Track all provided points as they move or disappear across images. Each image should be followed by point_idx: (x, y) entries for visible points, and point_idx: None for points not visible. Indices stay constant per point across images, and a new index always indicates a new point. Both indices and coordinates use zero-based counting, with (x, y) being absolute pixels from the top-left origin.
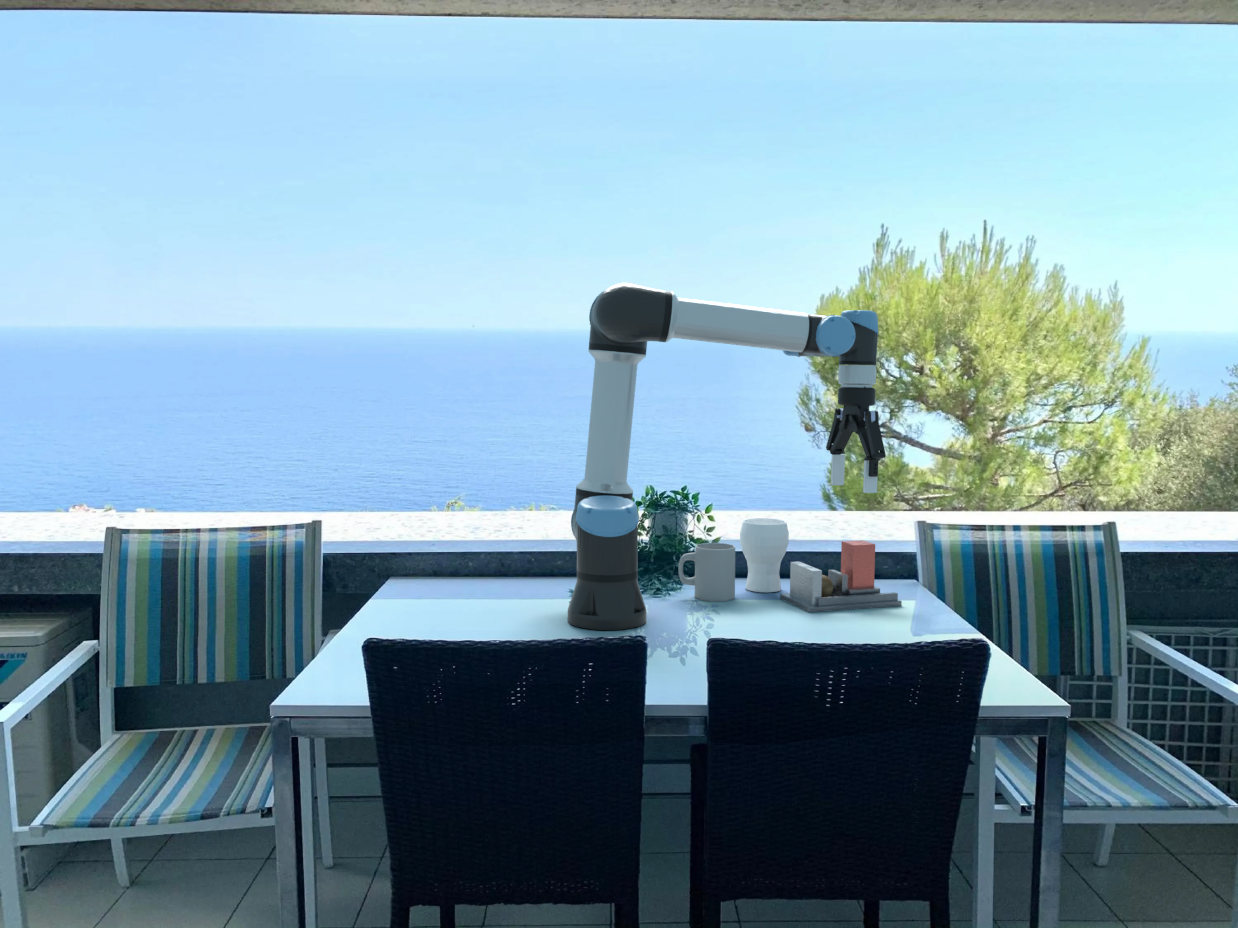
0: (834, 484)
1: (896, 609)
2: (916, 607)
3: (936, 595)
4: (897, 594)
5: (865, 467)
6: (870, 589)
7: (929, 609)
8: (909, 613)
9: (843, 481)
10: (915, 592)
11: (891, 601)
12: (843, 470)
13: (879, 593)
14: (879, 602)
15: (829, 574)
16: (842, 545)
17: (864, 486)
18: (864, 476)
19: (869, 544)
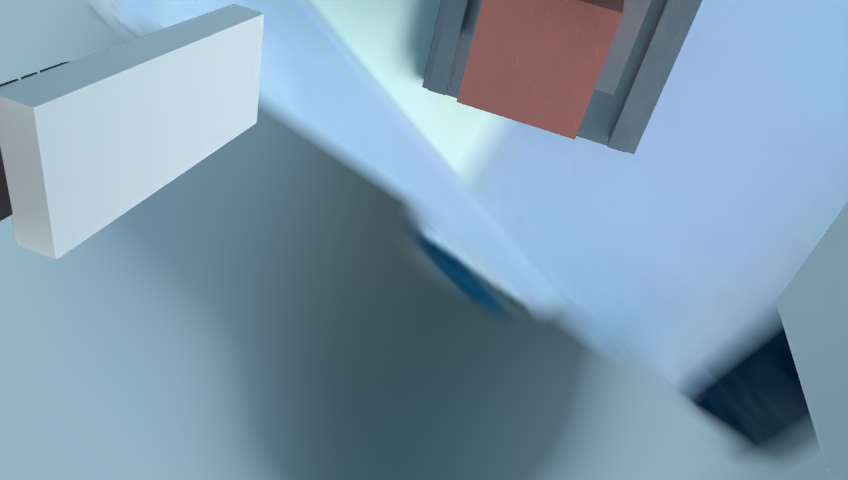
0: (835, 223)
1: (398, 28)
2: (390, 105)
3: (475, 276)
4: (429, 87)
5: (70, 68)
6: (479, 8)
7: (354, 117)
8: (340, 21)
9: (787, 320)
10: (538, 264)
11: (433, 51)
12: (813, 394)
13: (458, 29)
14: (443, 1)
15: None
16: (611, 4)
17: (214, 20)
18: (157, 44)
19: (465, 71)
